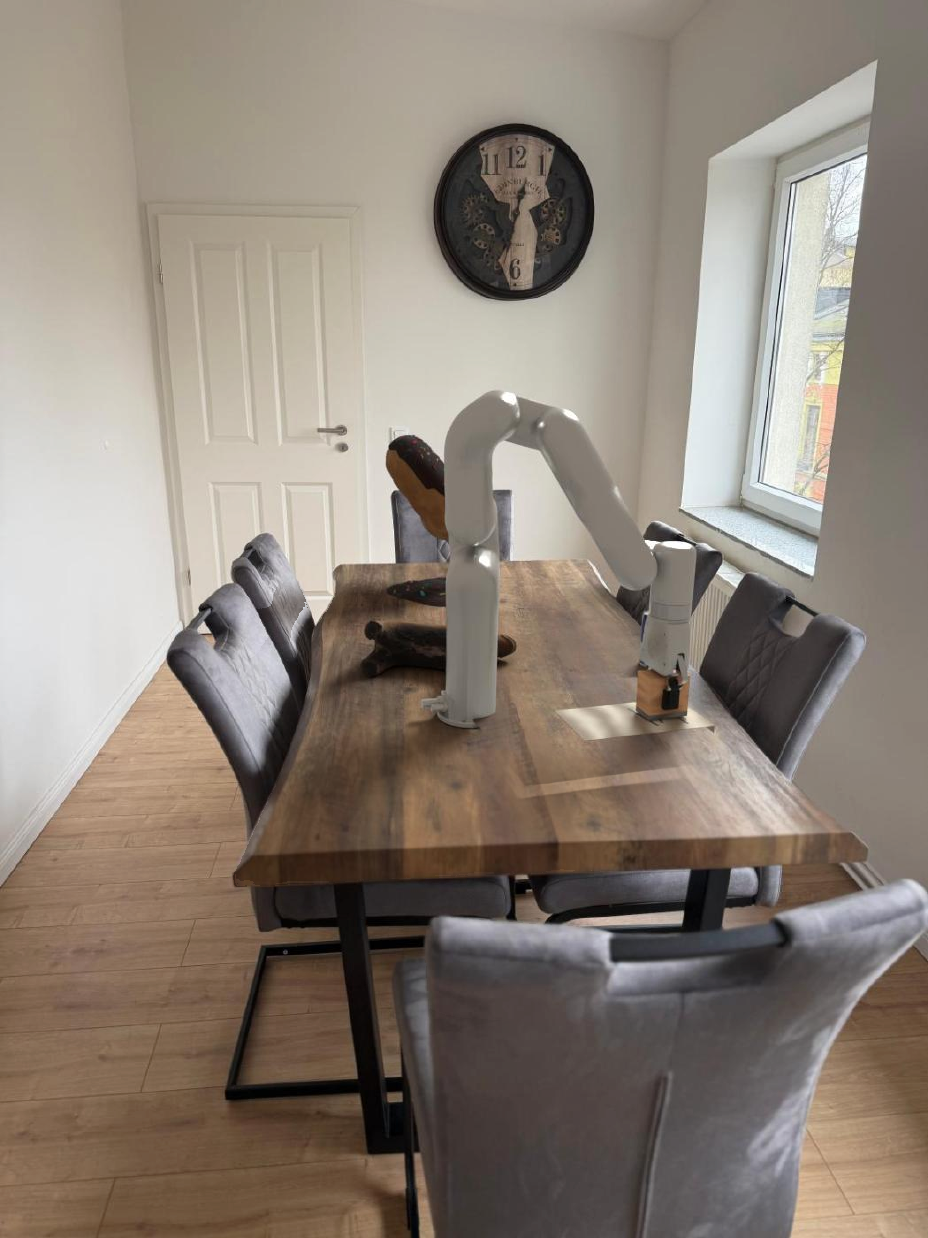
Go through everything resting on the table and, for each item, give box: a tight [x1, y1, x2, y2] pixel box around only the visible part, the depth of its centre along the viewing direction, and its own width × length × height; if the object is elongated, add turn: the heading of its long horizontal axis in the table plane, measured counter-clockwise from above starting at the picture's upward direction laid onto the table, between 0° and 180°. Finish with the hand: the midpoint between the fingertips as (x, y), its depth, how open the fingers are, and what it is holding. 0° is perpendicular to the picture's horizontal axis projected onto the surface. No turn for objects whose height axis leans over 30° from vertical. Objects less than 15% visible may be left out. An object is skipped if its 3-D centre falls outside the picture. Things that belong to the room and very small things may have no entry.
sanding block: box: [635, 669, 691, 721], centre depth 163 cm, size 8×5×8 cm, turn 107°
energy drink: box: [638, 609, 649, 668], centre depth 194 cm, size 5×5×12 cm
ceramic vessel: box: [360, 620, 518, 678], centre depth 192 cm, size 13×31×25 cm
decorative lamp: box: [385, 434, 449, 608], centre depth 248 cm, size 30×32×45 cm
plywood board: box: [554, 701, 716, 742], centre depth 163 cm, size 26×14×2 cm, turn 107°
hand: (662, 702), depth 163 cm, fingers closed on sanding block, 5 cm apart
